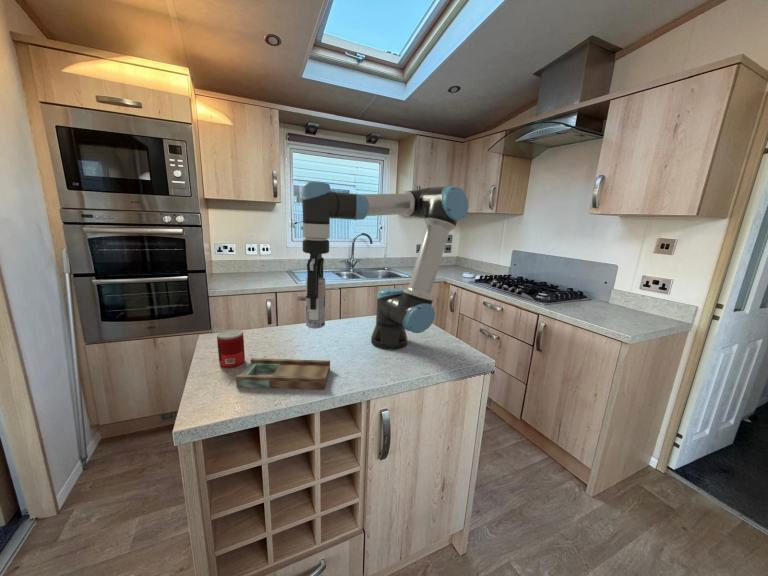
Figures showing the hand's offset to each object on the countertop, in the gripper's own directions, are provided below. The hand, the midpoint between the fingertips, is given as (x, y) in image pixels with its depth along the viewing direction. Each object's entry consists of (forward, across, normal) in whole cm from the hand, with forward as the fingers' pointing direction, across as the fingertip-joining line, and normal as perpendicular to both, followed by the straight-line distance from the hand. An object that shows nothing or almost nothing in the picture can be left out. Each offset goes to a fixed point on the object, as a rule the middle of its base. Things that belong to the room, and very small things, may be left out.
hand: (315, 315), depth 94 cm
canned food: (+22, -9, -30) cm, 38 cm away
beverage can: (+4, 0, 0) cm, 4 cm away
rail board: (+21, 0, -9) cm, 23 cm away
